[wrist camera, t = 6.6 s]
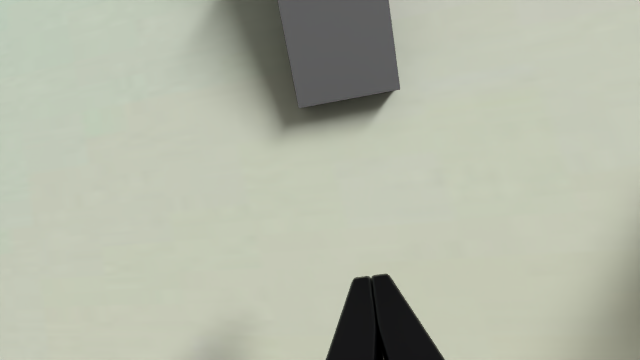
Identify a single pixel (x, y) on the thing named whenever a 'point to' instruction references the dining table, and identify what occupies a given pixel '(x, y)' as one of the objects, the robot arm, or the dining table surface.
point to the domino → (339, 49)
